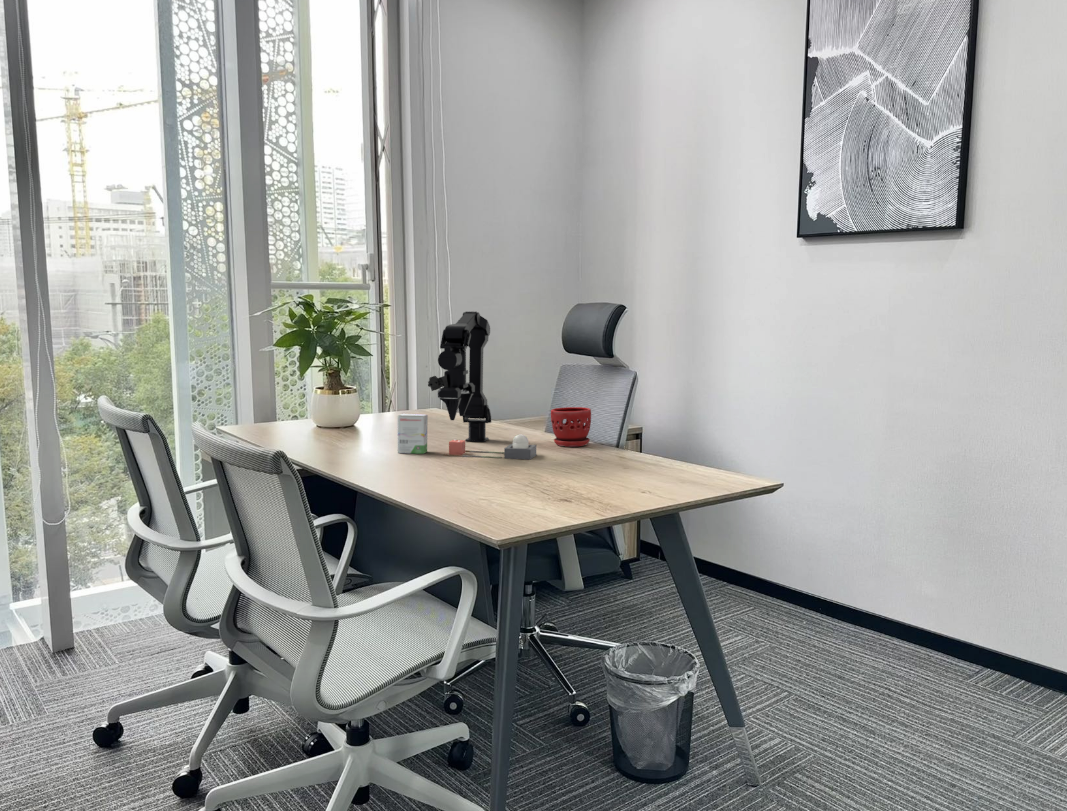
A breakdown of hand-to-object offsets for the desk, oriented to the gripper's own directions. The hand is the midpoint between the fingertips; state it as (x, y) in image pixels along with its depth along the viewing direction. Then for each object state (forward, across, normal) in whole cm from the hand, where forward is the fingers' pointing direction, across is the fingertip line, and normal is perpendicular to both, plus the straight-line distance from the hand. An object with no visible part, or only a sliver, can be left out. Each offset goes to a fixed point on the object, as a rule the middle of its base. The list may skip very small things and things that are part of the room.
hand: (457, 418), depth 263 cm
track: (+11, 0, +6) cm, 12 cm away
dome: (+11, 0, +20) cm, 23 cm away
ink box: (+11, +1, -14) cm, 18 cm away
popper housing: (+11, 0, +20) cm, 23 cm away
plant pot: (+11, -24, +31) cm, 41 cm away
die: (+11, 0, 0) cm, 11 cm away
